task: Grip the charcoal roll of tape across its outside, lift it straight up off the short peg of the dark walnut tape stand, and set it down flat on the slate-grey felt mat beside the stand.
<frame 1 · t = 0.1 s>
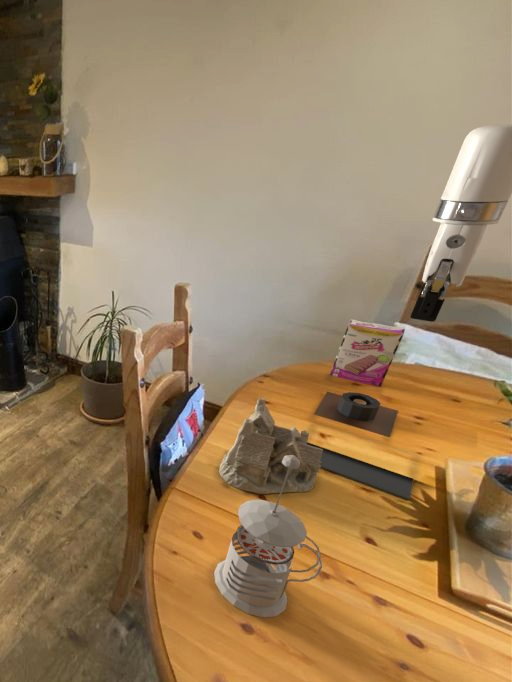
hand: (424, 312, 75), 31 cm above the table, tool pointing down, fingers open, 9 cm apart
tape roll: (355, 412, 99), point 1 cm above the table, touching tape stand
candy bar box: (354, 382, 114), on the table
felt mat: (356, 456, 87), on the table
ceramic cottage: (264, 474, 84), on the table
tape stand: (354, 416, 100), on the table
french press: (255, 589, 63), on the table
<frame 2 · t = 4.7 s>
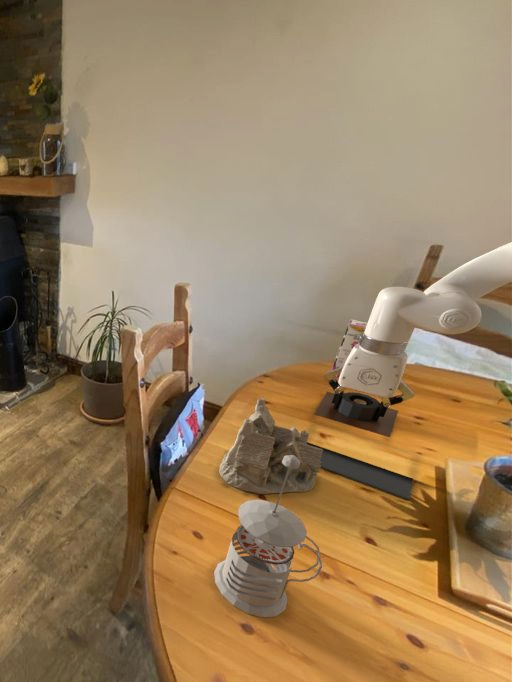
hand: (356, 411, 99), 1 cm above the table, tool pointing down, fingers closed on tape roll, 7 cm apart
tape roll: (355, 412, 99), point 1 cm above the table, touching gripper, tape stand
everything else where it was.
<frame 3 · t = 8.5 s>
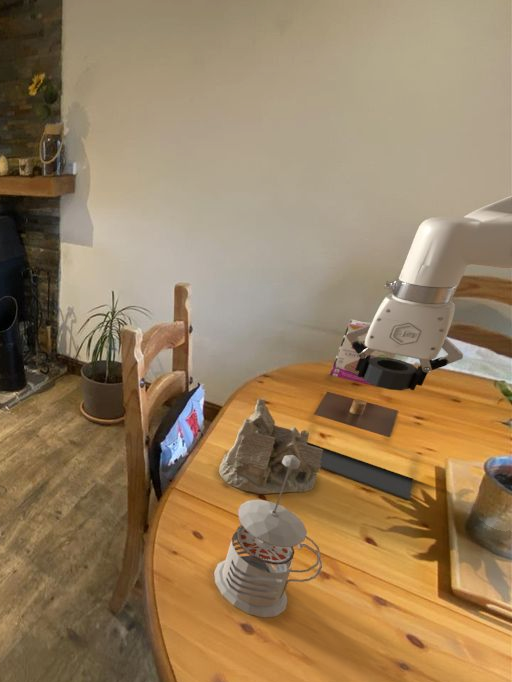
hand: (385, 380, 80), 18 cm above the table, tool pointing down, fingers closed on tape roll, 7 cm apart
tape roll: (385, 381, 81), point 17 cm above the table, touching gripper
everything else where it was.
when the fingers open (1 cm above the table, at t = 12.8 s): tape roll stays where it is, resting on felt mat.
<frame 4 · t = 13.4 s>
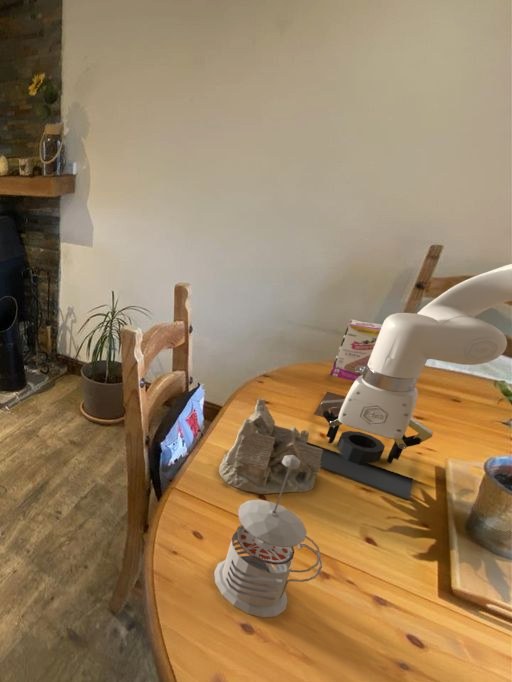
hand: (359, 449, 87), 2 cm above the table, tool pointing down, fingers open, 9 cm apart
tape roll: (356, 454, 87), resting on felt mat
everything else where it was.
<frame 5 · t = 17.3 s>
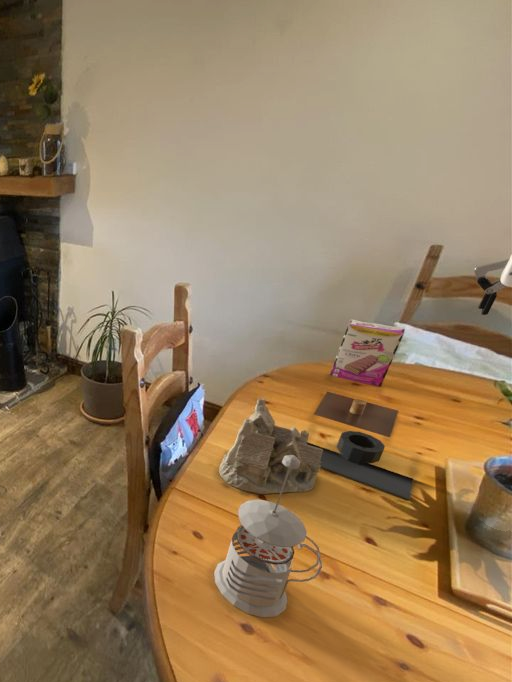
nothing on the table moved.
at the end: tape roll inside the target area on the felt mat (0.0 cm from its centre), point 0.4 cm above the felt mat's base; tape roll tilted 0°; the gripper is holding nothing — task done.
